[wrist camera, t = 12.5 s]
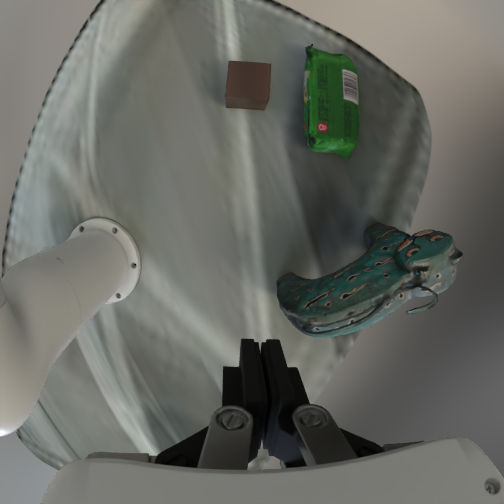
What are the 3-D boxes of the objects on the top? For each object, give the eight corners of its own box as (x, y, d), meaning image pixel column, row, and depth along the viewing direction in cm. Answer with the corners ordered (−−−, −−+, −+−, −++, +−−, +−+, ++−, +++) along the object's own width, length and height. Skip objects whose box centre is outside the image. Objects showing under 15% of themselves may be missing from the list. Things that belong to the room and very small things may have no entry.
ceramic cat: (385, 211, 39) (483, 238, 19) (397, 249, 40) (488, 295, 21) (265, 273, 40) (295, 356, 20) (284, 310, 41) (322, 404, 22)
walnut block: (226, 107, 34) (225, 97, 29) (229, 74, 33) (228, 60, 28) (264, 110, 34) (268, 100, 29) (266, 77, 33) (271, 63, 28)
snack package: (346, 60, 33) (360, 47, 28) (348, 160, 36) (364, 157, 31) (299, 52, 32) (307, 37, 27) (298, 155, 36) (308, 151, 31)
